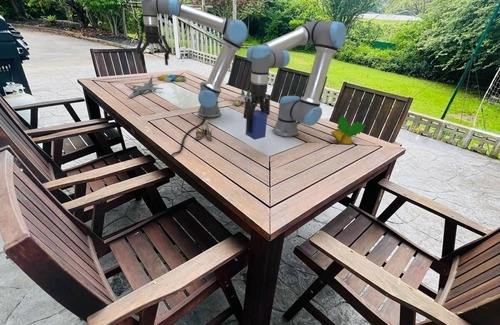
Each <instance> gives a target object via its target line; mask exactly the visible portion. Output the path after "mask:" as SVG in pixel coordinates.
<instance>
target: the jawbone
mask: <svg viewBox="0 0 500 325" xmlns="http://www.w3.org/2000/svg"><path fill="white" fill-rule="evenodd" d="M195 129H196V131H195V139H196V140H199V141H200V139H201V138H203V137H205V136H206V137H207V139H208V141H212V137H213V134H212V130H213V129H211V130H210V127H209V119H205V120H204V126H202V127H201V130H199V129H198V127H196V128H195Z"/></svg>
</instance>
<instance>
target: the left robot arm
mask: <svg viewBox="0 0 500 325" xmlns="http://www.w3.org/2000/svg"><path fill="white" fill-rule="evenodd" d="M140 3H141V10H142V19H143V25H144V27H143V28H144V35H143V34H139V38H138V42H137V45H136V48H135V53H137V54H138V55H139V60H140V61H141V64H142V66H143V67H146V62H145V54H144V52H145V50H146V49H147V47H148V46H149V45H150V44H151V45H153V44H154V45H158V46H159V47H160V49H162V51H164V54H163V55H164V65H165V66H169V59H170V55H169V54H171V53H172V52H173V51H172V49H171V47H170V45H169V43H168V41H167V40H166V35H163V34H162V35H160V30H159V19H158V18H159V17H158V15H166V16H167V15H169V16H174V17H178V18H180V19H183V20H186V21H188V22H192V23H194V24H197V25H200V26H203V27H206V28H209V29H211V30H214V31H217V32H219V33H221V35H223V36H222V43H223V44H222V46H221V49H220V51H219V53H218V55H217V57H216V60H215V62H214V64H213V67H212V69H211V72H210V74H209V76H208V79H207V80H205V81H201V82H200V84H199V87H200V91H199V93H198V97H197V99H198V102H199V105H200V106H199V109H198V116H199V117H201V118H203V119H202V122H201V123H200V124H198V125H196V126H193V127H192V128H191V129H189V130H188V131H186V133H185V134H184V135H183V138H182V141H181V145H180V149H179V150H178V151H174V152H172V153H171V154H170V156H169V159H172V157H173V156H174V155H176V154H179V153H181V152H182V151H183V147H184V142H185V139H186V137H187V136H188V135H189V133H191V132H192V131H193V130H195V129H196V128H198V127H200V126H201V125H203V123H205V120H206V119H214V118H219V117H221V110H220V108H219V102H218V99H219V96H220V94H221V93H222V89H221V86H222V85H223V82H224V79H225V78H226V75H227V73H228V71H229V69H230V66H231V64H232V62H233V59H234V58H235V56H236V54H237V51H240V50H241V48H242V47H243V44H244V43H245V41H246V39H247V37H248V34H249V33H248V27H247V25H246V23H245V22H244V21H242V20H241V19H232V18H228V17H221V16H218V15H215V14H212V13H209V12H207V11H205V10H201V9H198V8H196V7H193V6H190V5H187V4H185V3H182V2H179V0H140ZM144 40H145V42H144ZM160 40H161V41H162V42H163V43H162V42H161V41H160ZM143 42H144V43H143ZM142 44H143V45H142Z"/></svg>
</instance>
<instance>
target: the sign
mask: <svg viewBox="0 0 500 325" xmlns="http://www.w3.org/2000/svg"><path fill="white" fill-rule="evenodd" d="M185 77H186V76H185V75H181V74H162V75H158V76H156V78H157V79H158V80H159V81H164V82H181V83H182V82H185V81H187V79H186V78H185Z"/></svg>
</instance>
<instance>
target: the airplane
mask: <svg viewBox="0 0 500 325" xmlns="http://www.w3.org/2000/svg"><path fill="white" fill-rule="evenodd" d="M153 77H154V76H153V75H151V76H150V78H149V80H148V81H147V82H148V83H147V82H143V85H136V84H128V86H129V87H132V88H131V90H133V92H131V93H130V94H129V95H128V97H127V99H132V98H135V97H137V96H139V95H140V94H144V95H145V94H147V93H149V92H150V91H151V92H152V93H154V92H155V91H157V90H163V89H164V87H155V86H160V83H159V84H158V83H153ZM134 89H135V90H134Z"/></svg>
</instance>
